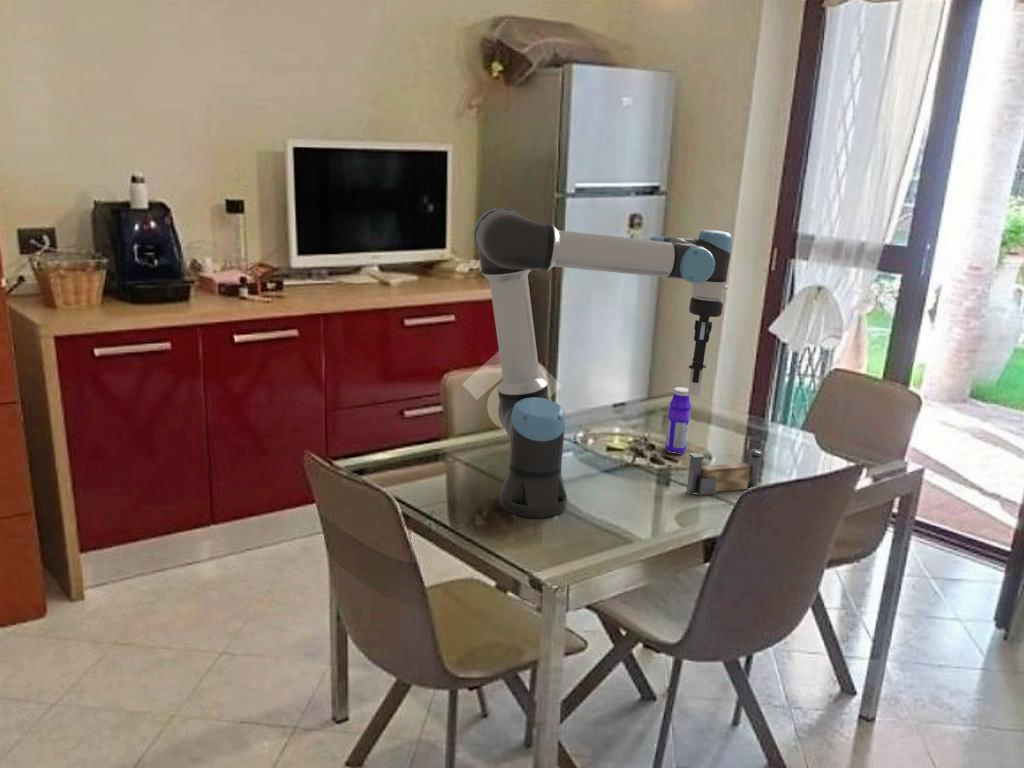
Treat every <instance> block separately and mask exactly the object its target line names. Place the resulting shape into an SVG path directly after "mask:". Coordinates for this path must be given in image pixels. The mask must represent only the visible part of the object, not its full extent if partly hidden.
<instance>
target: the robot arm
mask: <svg viewBox="0 0 1024 768" xmlns="http://www.w3.org/2000/svg"><path fill="white" fill-rule="evenodd" d="M473 233H474V234H473V239H474V243H475V246H476V248H477V249H478V255H479V264H480V270H481V275H483V276H484V277H485V278H486V279H488V280H489V285H490V294H491V300H492V301H491V302H492V307H493V309H492V310H493V316H494V323H495V331H496V336H497V345H498V353H499V359H500V366H501V375H502V381H501V383H500V384H499V385H498V387H497V392H498V399H499V400H498V401H499V403H498V417H499V421H500V423H501V425H502V426H503V428H504V430H505V432H506V434H507V436H508V438H509V440H510V441H509V442H510V445H509V446H510V447H509V448H510V450H509V464H508V465H509V466H508V467H509V468H508V472H507V475H506V477H505V480H504V482H503V485H502V487H501V489H500V492H499V505H500V507H501V508H502V509H503V510H504V511H506V512H507V513H510V514H512V515H516V516H519V517H525V518H534V519H538V518H539V519H541V518H551V517H555V516H558V515H560V514H562V513H563V512H564V511H566V509H567V501H568V497H567V491H566V488H565V484H564V481H563V477H562V463H563V452H564V440H565V438H564V437H565V428H566V415H565V411H564V408H563V407H562V406H561V405H560V404H559V402H558V403H557V402H556V401H552V400H551V399H550V395H549V387H548V381H547V380H546V379H545V378H544V377H542V376H541V375H540V367H539V359H538V350H537V343H536V334H535V327H534V325H535V324H534V319H533V311H532V310H533V308H532V301H531V293H530V286H529V285H530V284H529V279H528V278H529V277H528V276H529V273H530V272H531V271H544V272H545V271H546V272H548V271H550V270H551V269H553V267H554V268H555V267H556V268H564V269H565V268H566V269H576V270H585V271H596V272H608V273H619V274H628V275H629V274H631V275H637V276H638V275H639V276H649V277H659V278H667V279H675V280H678V279H679V280H685V282H688V283H691V290H690V291H691V292H690V293H691V295H692V296H691V297H690V301H689V308H688V311H689V313H690V314H692V315H695V316H699V320H697V319H695V322H694V335H693V336H694V337H693V340H694V342H695V345H694V351H693V352H694V353H693V358H692V363H691V364H690V365H689V366H688V369H690V376H689V382H688V387H687V389H688V395H689V396H695V397H696V396H697V397H700V392H701V391H700V390H701V387H702V386H701V384H702V378H703V372H704V369H705V368H707V365H706V364H704V361H705V354H706V349H707V348H706V347H707V343H708V342H709V341H710V334H711V332H712V327H713V321H710V318H711V317H712V318H718V317H720V316H722V313H723V305H724V301H723V300H722V299H724V297H725V293H726V292H725V290H728V289H729V287H728V285H726V284H727V277H728V272H729V264H730V260H731V255H732V244H733V243H732V242H733V241H732V240H733V237H732V234H730V233H729V232H728V231H727V232H726V231H722V230H712V229H702V230H701V231H699V234H698V235H699V236H698V237H697V238H686V237H685V238H684V237H674V236H665V235H662V236H655V235H654V236H651V237H649V239H640V238H632V237H623V236H616V235H615V236H613V235H605V234H596V233H595V234H594V233H585V232H578V231H567V230H559V229H557V228H556V226H555V224H550V223H549V224H548V223H541V222H537V221H534V220H531V219H530V218H527V217H523V216H522V215H521V214H520V213H518V212H517V211H515V210H514V209H511V208H507V207H502V208H501V207H498V208H493V209H491V210H490V209H489V210H488V211H487V212H485V213H484V214H482V215H481V217H480V218H479V219H478V221H477V222H476V225H475V227H474V232H473Z"/></svg>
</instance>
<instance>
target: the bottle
mask: <svg viewBox="0 0 1024 768" xmlns="http://www.w3.org/2000/svg"><path fill="white" fill-rule="evenodd" d="M669 407H670V408H669V411H668V417H667V430H666V436H665V443H664V445H665V447H664V448H665V450H668V451H670V452H676V453H683V454H684V453H685V452H686V450H687V447H688V445H687V443H688V434H689V433H688V431H689V424H690V420H691V419H690V418H691V410H690V409H691V408H692V404H691V402H690V395H688V387H681V386H678V387H675V388H673V396H672V399H671V401H670V402H669Z"/></svg>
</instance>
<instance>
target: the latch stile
mask: <svg viewBox="0 0 1024 768" xmlns="http://www.w3.org/2000/svg"><path fill="white" fill-rule="evenodd" d="M688 456H689V457H690V458H689V467H688V476H687V486H686V492H687V491H688V492H689V493H690V494H689V493H688V492H687V493H688V494H689V495H694V494H693V493H698V494H697V495H698V496H701V495H702V496H703V495H715V494H716V492H715V489H716V481H717V478H716V477H715V476H714V477H700V474H701V466H702V463H703V460H705V456H704V455H703V454H702V453H700V452H690V453H689V454H688Z"/></svg>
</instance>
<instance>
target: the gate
mask: <svg viewBox="0 0 1024 768" xmlns="http://www.w3.org/2000/svg"><path fill="white" fill-rule="evenodd" d="M749 465H750V464H747V463H746V462H741V463H727V464H715V465H704V466H701V474H700V477H714V476H715V477H716V478H717V481H716V489H715V493H716V492H724V491H736V490H737V491H738V490H748V489H747V485H748V477H749V470H750V466H749Z"/></svg>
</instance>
